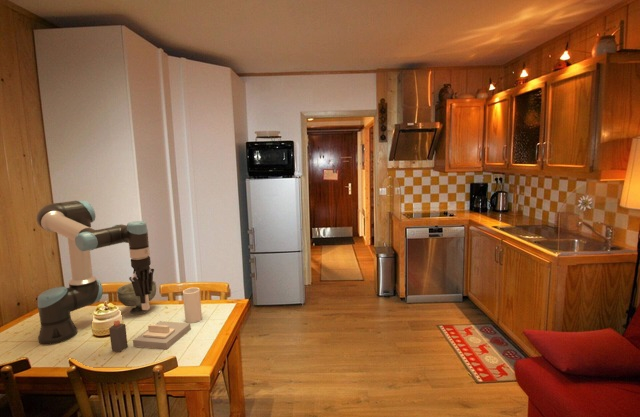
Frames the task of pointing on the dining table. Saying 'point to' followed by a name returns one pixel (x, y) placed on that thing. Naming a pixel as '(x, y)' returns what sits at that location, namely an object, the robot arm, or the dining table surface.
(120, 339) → the dark grey bottle
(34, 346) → the dining table surface
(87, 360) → the dining table surface
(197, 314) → the cup
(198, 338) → the dining table surface
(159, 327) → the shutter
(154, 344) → the socket board
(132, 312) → the bowl
